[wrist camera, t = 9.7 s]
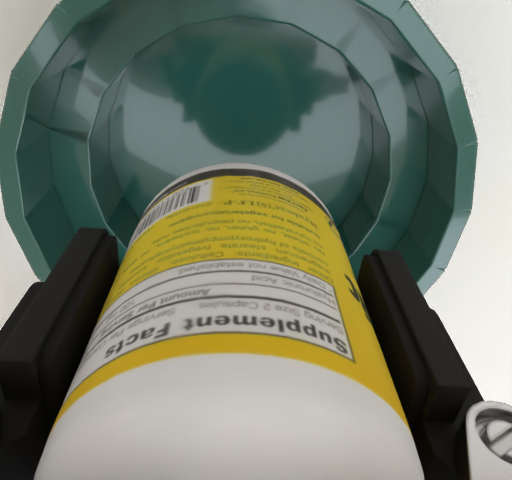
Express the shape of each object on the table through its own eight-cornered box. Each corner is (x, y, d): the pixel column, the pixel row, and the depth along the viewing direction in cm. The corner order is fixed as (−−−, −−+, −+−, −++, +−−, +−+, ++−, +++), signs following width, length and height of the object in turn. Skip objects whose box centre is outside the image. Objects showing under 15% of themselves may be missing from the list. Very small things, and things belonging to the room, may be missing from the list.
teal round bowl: (128, 307, 23) (97, 396, 18) (-1, -11, 15) (-109, 0, 11) (414, 266, 22) (459, 350, 17) (420, -95, 14) (503, -124, 10)
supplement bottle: (312, 337, 14) (409, 908, 5) (133, 314, 13) (-68, 909, 5) (366, 174, 11) (728, 821, 3) (142, 137, 11) (-275, 802, 2)
